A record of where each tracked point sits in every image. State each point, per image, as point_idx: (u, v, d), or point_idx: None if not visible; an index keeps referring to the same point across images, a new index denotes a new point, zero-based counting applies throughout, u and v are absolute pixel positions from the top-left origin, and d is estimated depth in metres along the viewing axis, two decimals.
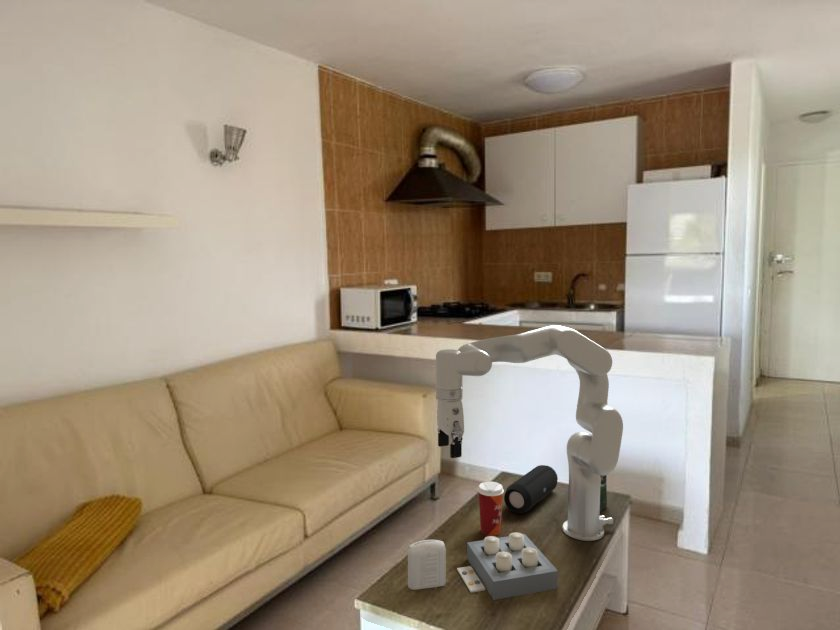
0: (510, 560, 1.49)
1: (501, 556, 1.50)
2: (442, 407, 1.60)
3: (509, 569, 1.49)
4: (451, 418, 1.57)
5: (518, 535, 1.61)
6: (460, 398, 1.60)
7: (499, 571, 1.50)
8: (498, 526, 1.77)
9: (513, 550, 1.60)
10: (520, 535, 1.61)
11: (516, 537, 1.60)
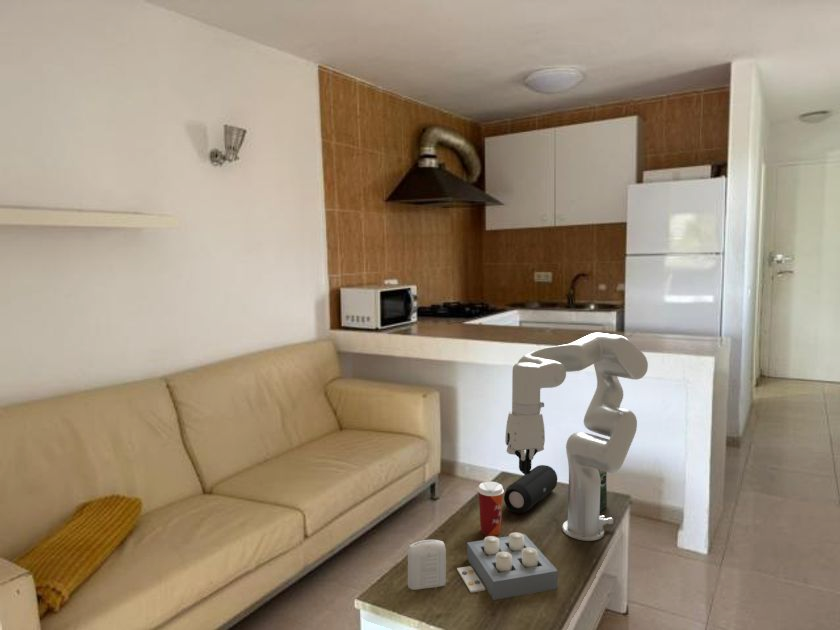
0: (510, 560, 1.49)
1: (501, 556, 1.50)
2: (533, 423, 1.54)
3: (509, 569, 1.49)
4: None
5: (518, 535, 1.61)
6: None
7: (499, 571, 1.50)
8: (498, 526, 1.77)
9: (513, 550, 1.60)
10: (520, 535, 1.61)
11: (516, 537, 1.60)
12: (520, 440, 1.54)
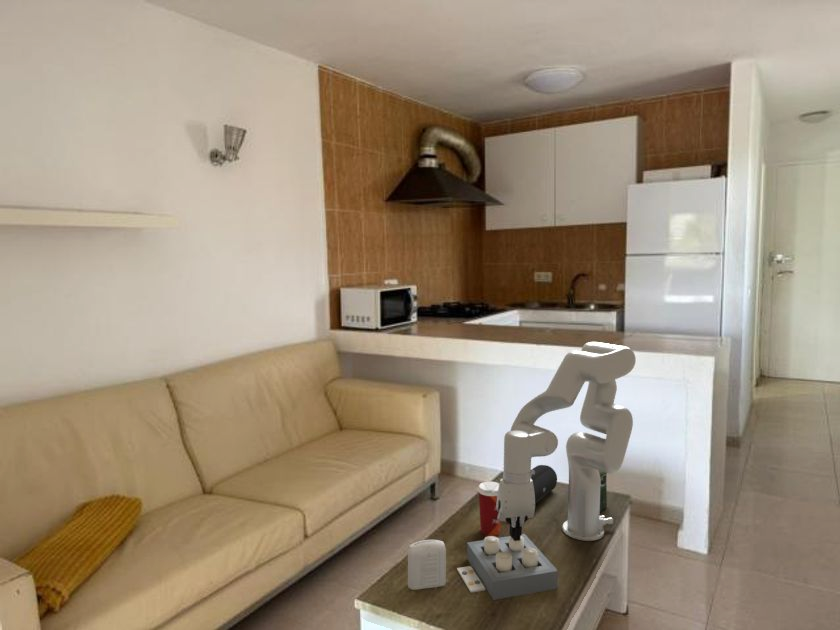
0: (510, 560, 1.49)
1: (501, 556, 1.50)
2: (523, 491, 1.57)
3: (509, 569, 1.49)
4: None
5: None
6: None
7: (499, 571, 1.50)
8: (498, 526, 1.77)
9: None
10: (520, 537, 1.61)
11: None
12: (511, 508, 1.57)
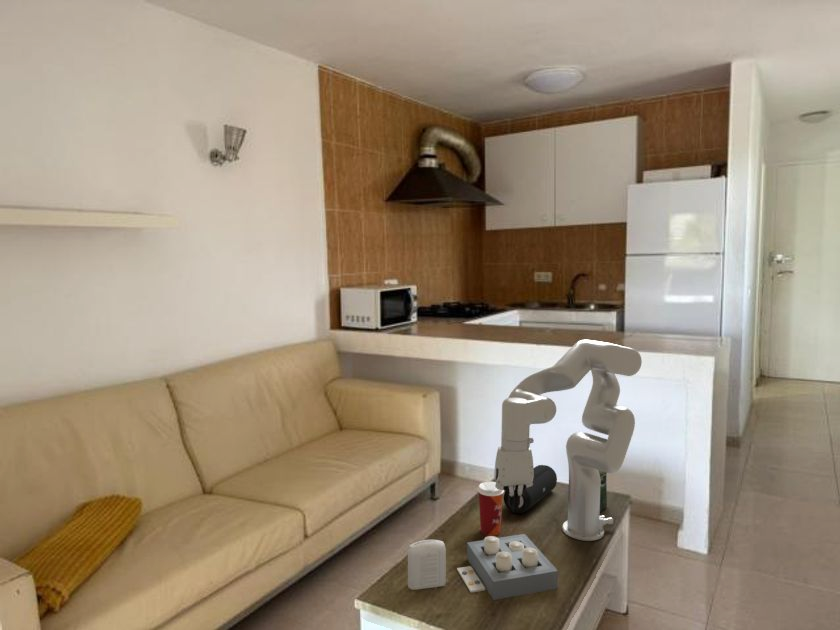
0: (510, 560, 1.49)
1: (501, 556, 1.50)
2: (521, 459, 1.54)
3: (509, 569, 1.49)
4: (532, 464, 1.56)
5: (518, 544, 1.61)
6: None
7: (499, 571, 1.50)
8: (498, 526, 1.77)
9: None
10: (520, 544, 1.61)
11: (516, 546, 1.60)
12: (509, 476, 1.54)
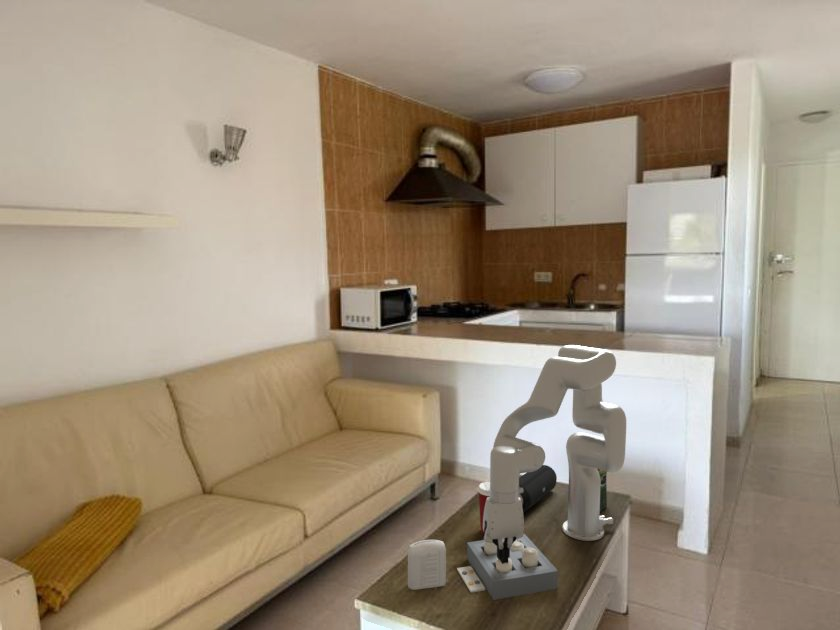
0: (510, 565, 1.50)
1: None
2: (511, 511, 1.47)
3: None
4: (522, 515, 1.49)
5: (518, 544, 1.61)
6: None
7: None
8: None
9: None
10: (520, 544, 1.61)
11: (516, 546, 1.60)
12: (498, 529, 1.47)
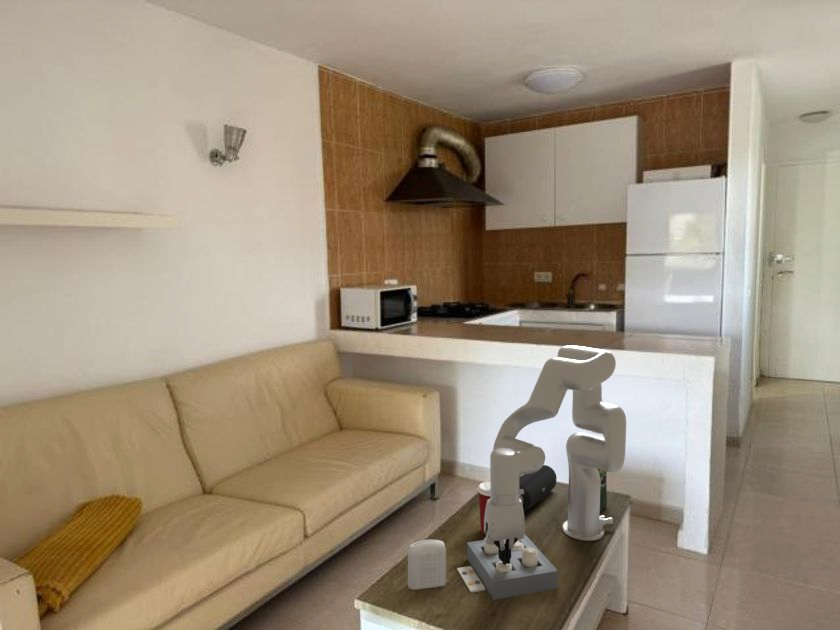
0: (510, 569, 1.50)
1: (501, 565, 1.51)
2: (512, 512, 1.47)
3: None
4: (523, 516, 1.50)
5: (518, 544, 1.61)
6: None
7: None
8: None
9: None
10: (520, 544, 1.61)
11: (516, 546, 1.60)
12: (499, 531, 1.47)
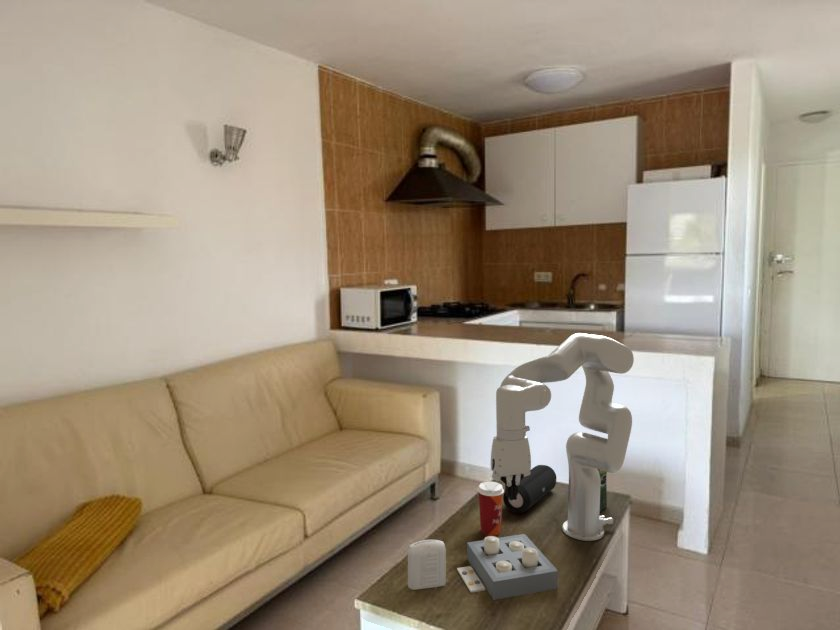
0: (510, 569, 1.50)
1: (501, 565, 1.51)
2: (518, 448, 1.49)
3: None
4: (529, 452, 1.51)
5: (518, 544, 1.61)
6: None
7: None
8: (498, 526, 1.77)
9: None
10: (520, 544, 1.61)
11: (516, 546, 1.60)
12: (505, 466, 1.49)
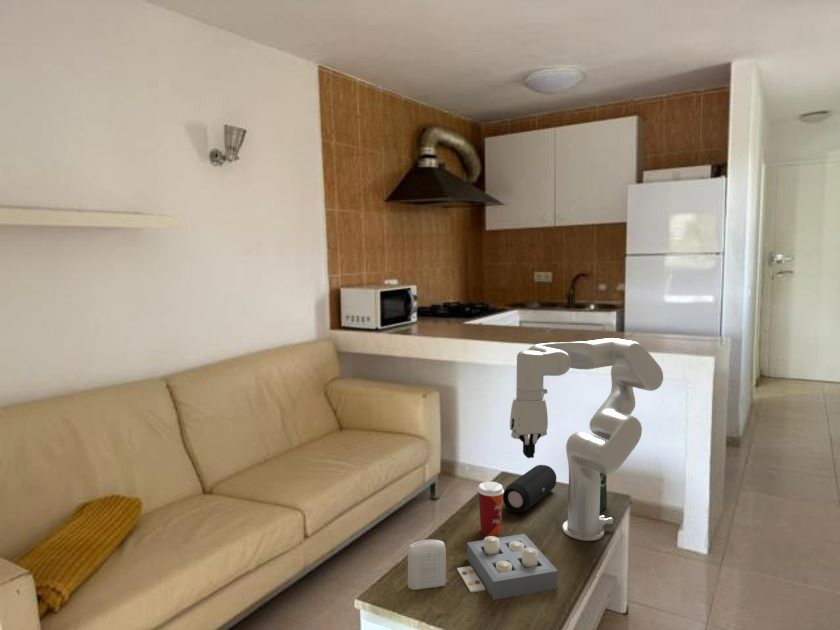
0: (510, 569, 1.50)
1: (501, 565, 1.51)
2: (536, 408, 1.60)
3: None
4: None
5: (518, 544, 1.61)
6: None
7: None
8: (498, 526, 1.77)
9: None
10: (520, 544, 1.61)
11: (516, 546, 1.60)
12: (524, 425, 1.60)
